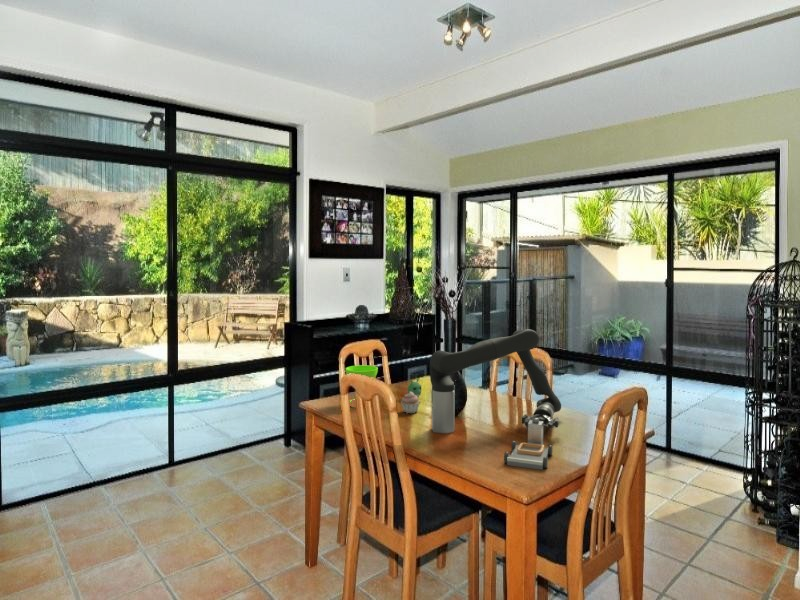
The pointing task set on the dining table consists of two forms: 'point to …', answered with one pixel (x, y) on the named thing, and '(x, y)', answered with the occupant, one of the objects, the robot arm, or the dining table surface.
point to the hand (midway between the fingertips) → (537, 425)
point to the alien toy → (414, 388)
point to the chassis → (528, 455)
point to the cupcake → (410, 403)
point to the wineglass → (363, 370)
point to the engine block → (535, 431)
